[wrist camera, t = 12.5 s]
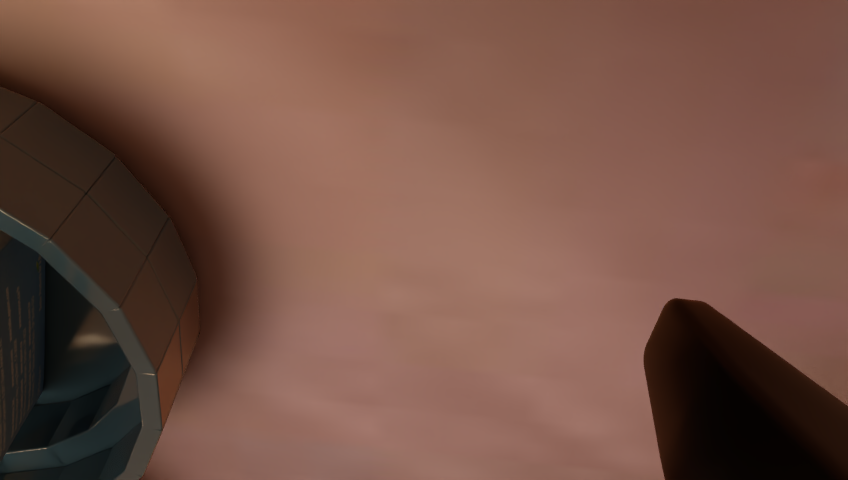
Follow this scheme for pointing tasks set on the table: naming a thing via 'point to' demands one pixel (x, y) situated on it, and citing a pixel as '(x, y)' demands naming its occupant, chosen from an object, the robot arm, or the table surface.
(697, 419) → the robot arm
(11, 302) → the blue retail package
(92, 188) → the bowl
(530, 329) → the table surface
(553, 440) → the table surface
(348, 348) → the table surface
